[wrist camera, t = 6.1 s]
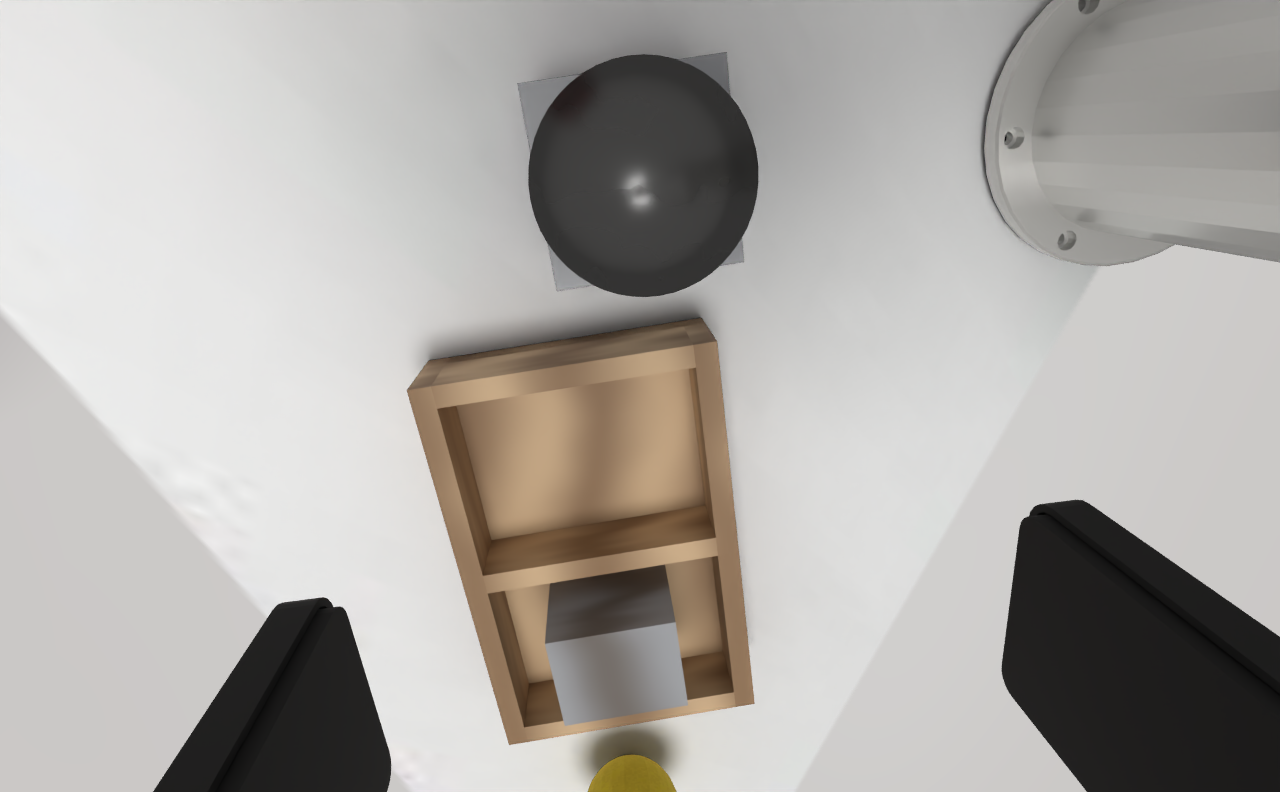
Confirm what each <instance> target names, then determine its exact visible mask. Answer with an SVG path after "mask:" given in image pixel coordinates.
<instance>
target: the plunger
mask: <svg viewBox="0 0 1280 792" xmlns="http://www.w3.org/2000/svg"><path fill="white" fill-rule="evenodd" d="M757 189H758V161H757V154H756V148H755V144H754V141H753V137H752V134H751V131H750V129H749V126H748V124H747V121H746V119H745V117H744V116H743V114H742V112H741V110H740V109H739V107H738V105H737V104H736V103H735V101H734V100H733V99H732V98H731V96H730V95H729V94H728V93H727V92H726V91H725V90H724V89H723V88H722V87H721V86H720V85H719V84H718V83H717V82H716V81H715V80H714V79H712V78H711V77H710V76H708V75H707V74H706V73H704V72H703V71H701V70H699V69H697V68H695V67H694V66H692V65H690V64H687V63H685V62H682V61H679V60H677V59H673V58H669V57H664V56H659V55H645V54H643V55H630V56H624V57H620V58H615V59H611V60H609V61H606V62H603V63H601V64H598V65H596V66H594V67H593V68H591V69H589V70H587V71H585V72H584V73H582V74H581V75H579V76H578V77H577V78H576V79H574V80H573V81H572V82H570V83H569V84H568V85H567V86H566V87H565V88H564V89H563V90H562V91H561V92H560V93H559V94H558V96H557V97H556V98H555V100H554V101H553V102H552V104H551V105H550V106H549V108H548V109H547V111H546V113H545V115H544V117H543V118H542V120H541V122H540V125H539V127H538V130H537V132H536V135H535V137H534V141H533V145H532V149H531V153H530V161H529V192H530V199H531V204H532V208H533V212H534V215H535V218H536V221H537V223H538V226H539V228H540V231H541V232H542V234H543V236H544V238H545V240H546V241H547V243H548V245H549V246H550V247H551V249H552V250H553V252H554V253H555V254H556V256H557V257H558V258H559V259H560V260H561V261H562V262H563V263H564V264H565V265H566V266H567V267H568V268H569V269H570V270H572V271H573V272H574V273H575V274H576V275H578V276H579V277H581V278H582V279H584V280H585V281H587V282H589V283H590V284H592V285H594V286H597V287H599V288H601V289H603V290H606V291H609V292H613V293H616V294H621V295H626V296H635V297H650V296H660V295H665V294H669V293H674V292H676V291H679V290H682V289H685V288H687V287H689V286H691V285H693V284H695V283H697V282H699V281H701V280H702V279H703V278H705V277H706V276H708V275H709V274H711V273H712V272H713V271H714V270H715V269H717V268H718V267H719V266H720V265H721V264H722V263H723V262H724V261H725V260H726V259H727V258H728V256H729V255H730V254H731V253H732V252H733V250H734V249H735V247H736V246H737V245H738V243H739V242H740V240H741V238H742V236H743V234H744V232H745V231H746V229H747V227H748V224H749V221H750V219H751V216H752V213H753V210H754V206H755V201H756V197H757Z"/></svg>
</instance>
